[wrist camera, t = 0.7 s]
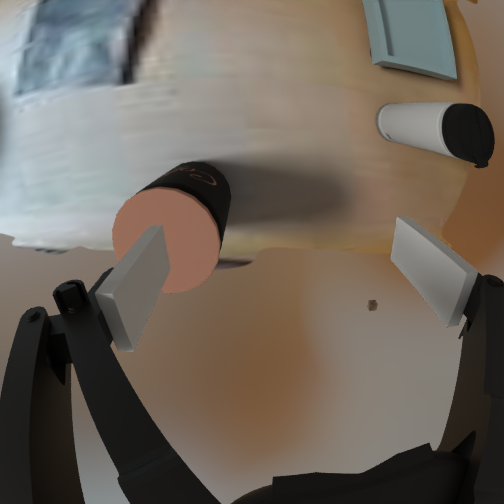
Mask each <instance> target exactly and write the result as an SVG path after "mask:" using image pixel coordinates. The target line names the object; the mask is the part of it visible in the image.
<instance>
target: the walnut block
mask: <svg viewBox="0 0 504 504" xmlns="http://www.w3.org/2000/svg"><path fill="white" fill-rule="evenodd" d="M377 306H378V304H377V302H376V300H369V301H368V306H367V307H368V309H369V311H375V310H377Z"/></svg>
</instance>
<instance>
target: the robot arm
mask: <svg viewBox="0 0 504 504" xmlns="http://www.w3.org/2000/svg"><path fill="white" fill-rule="evenodd" d="M390 260H391V261H392V262H393V263H394V264H395V265H396V266H397V267H398V268H399V269H400V271H401V272H402V273H403V274H404V275H405V276H406V278H407V279H408V280H409V281H410V282H411V283H412V285H413V286H414V287H415V288H416V289H417V291H418V292H419V293H420V294H421V296H422V297H423V298H424V299H425V300H426V302H427V303H428V304H429V305H430V306H431V308H432V309H433V310H434V312H435V313H436V314H437V316H438V317H439V318H440V319H441V321H442V322H443V323H444V325H445V326H446V327H447V328H448V327H452V326H456V325H459V322H460V320H461V318H462V315H463V314H464V315H465V316H466V317H467V320H466V322H465V325H464V327H463V329H462V331H461V333H460V335H459V339H460V338H461V336H463V342H462V350H461V358H460V364H459V371H458V377H457V382H456V387H455V392H454V396H453V401H452V405H451V409H450V413H449V417H448V420H447V424H446V428H445V431H444V434H443V438H442V441H441V443H440V445H439V447H438V449H437V450H436V451H432V448H431V446H430V443H427V444H424V445H421V446H419V447H416V448H413V449H411V450H407V451H405V452H402V453H398V454H396V455H394V456H393V457H391V458H389V459H388V460H386V461H384V462H382V463H380V464H379V465H377V466H375V467H373V468H371V469H370V470H367V471H365V472H363V473H359V474H341V473H319V472H315V473H308V474H299V475H289V476H278V477H273V482H272V485H269V486H265V487H262V488H259V489H257V490H254V491H251V492H249V493H247V494H245V495H243V496H242V497H240V498H238V499H237V500H235V501H234V502H233V503H231V504H504V282H503V281H502V280H501V279H499V278H498V277H496V276H493V275H484V276H482V275H481V274H480V273H479V272H478V271H477V270H476V269H475V268H473V267H472V266H471V265H470V264H469V263H468V262H466V261H465V260H464V259H463V258H462V257H460V256H459V255H458V254H457V253H456V252H454V251H453V250H452V249H451V248H449V247H448V246H447V245H445V244H444V243H443V242H442V241H440V240H439V239H438V238H436V237H435V236H434V235H432V234H431V233H430V232H428V231H427V230H426V229H424V228H423V227H422V226H420V225H419V224H418V223H416V222H415V221H413V220H412V219H411V218H409V217H408V216H397V221H396V228H395V235H394V241H393V247H392V253H391V258H390ZM170 270H171V268H170V263H169V258H168V252H167V247H166V241H165V235H164V229H163V225H152V226H149V227H148V228H147V229H146V231H145V232H144V233H143V234H142V235H141V236H140V237H139V239H138V240H137V241H136V242H135V243H134V245H133V246H132V247H131V248H130V249H129V251H128V252H127V253H126V254H125V255H124V257H123V258H122V259H121V260H120V261H119V263H118V264H117V265H116V266H115V268H110V269H109V270H108V271H106V272H104V273H103V274H102V276H101V277H100V278H99V280H98V281H97V282H96V283H95V286H93V287H92V288H91V289H90V291H89V292H88V293H87V291H86V289H85V286H84V283H83V282H82V281H81V280H70V281H67V282H65V283H62V284H61V285H59V286H58V287H57V288H56V289H55V290H54V291H53V297H54V299H55V302H56V304H57V306H58V309H59V311H60V313H61V314H59V315H54V316H48V314H47V312H46V309H45V308H44V307H34V308H30V309H29V310H27V311H26V312H25V313H24V314H23V315H22V317H21V319H20V322H19V325H18V328H17V331H16V334H15V337H14V341H13V344H12V348H11V351H10V356H9V359H8V363H7V367H6V372H5V376H4V381H3V386H2V391H1V397H0V504H85V501H84V497H83V492H82V488H81V483H80V479H79V478H80V477H79V472H78V466H77V459H76V452H75V444H74V436H73V435H74V434H73V423H72V406H71V363H73V365H74V368H75V371H76V374H77V378H78V381H79V384H80V387H81V390H82V392H83V395H84V398H85V400H86V403H87V406H88V408H89V411H90V413H91V416H92V418H93V421H94V422H95V425H96V428H97V430H98V432H99V434H100V436H101V439H102V441H103V443H104V445H105V447H106V449H107V451H108V453H109V455H110V457H111V459H112V461H113V463H114V465H115V466H116V468H117V471H118V472H119V477H118V478H117V479H118V483H119V485H120V487H121V489H122V491H123V493H124V494H125V496H126V498H127V499H128V501H129V502H130V504H221V503H220V502H219V501H218V500H217V499H216V498H215V497H214V496H213V495H212V494H211V493H210V491H209V490H208V489H207V488H206V487H205V486H204V485H203V484H202V483H201V481H200V480H199V479H198V478H197V477H196V476H195V474H194V473H193V472H192V471H191V470H190V469H189V467H188V466H187V465H186V464H185V463H184V461H183V460H182V459H181V457H180V456H179V455H178V454H177V452H175V450H174V449H173V448H172V446H171V445H170V444H169V442H168V441H167V440H166V438H165V437H164V436H163V434H162V433H161V431H160V430H159V428H158V427H157V426H156V424H155V423H154V421H153V420H152V418H151V417H150V415H149V414H148V412H147V410H146V409H145V407H144V406H143V404H142V402H141V401H140V399H139V398H138V396H137V394H136V393H135V391H134V389H133V388H132V386H131V384H130V382H129V381H128V379H127V377H126V376H125V373H124V372H123V370H122V368H121V366H120V364H119V362H118V360H117V359H116V357H115V355H114V353H113V351H112V349H111V347H110V345H111V343H112V341H114V343H115V345H116V347H117V349H118V350H120V351H132V352H134V351H135V349H136V346H137V344H138V342H139V339H140V337H141V335H142V332H143V330H144V327H145V325H146V323H147V321H148V318H149V316H150V313H151V311H152V309H153V307H154V305H155V303H156V300H157V298H158V296H159V294H160V292H161V289H162V287H163V285H164V283H165V281H166V279H167V277H168V274H169V272H170Z"/></svg>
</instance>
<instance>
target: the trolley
mask: <svg viewBox="0 0 504 504" xmlns="http://www.w3.org/2000/svg"><path fill="white" fill-rule="evenodd" d="M362 1H363V6H364V11H365V16H366V21H367V27H368V33H369V40H370V47H371V48H370V55H371V57H372V64H374V65H380V66H386V67H392V68H397V69H402V70H407V71H412V72H416V73H421V74H425V75H429V76H433V77H436V78H440V79H443V80H451V79H457V74H456V65H455V58H454V52H453V46H452V40H451V35H450V30H449V26H448V21H447V17H446V13H445V9H444V5H443V2H442V0H362Z"/></svg>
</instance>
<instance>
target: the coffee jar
mask: <svg viewBox="0 0 504 504" xmlns="http://www.w3.org/2000/svg"><path fill="white" fill-rule="evenodd" d="M230 200H231V194H230V189H229V185H228V183H227V181H226V179H225V178H224V176H223V175H222V174H221V173H220V172H219V171H218V170H217V169H216V168H215V167H213V166H210V165H208V164H206V163H203V162H194V161H192V162H187V163H183V164H180V165H179V166H177V167H175V168H173V169H172V170H170V171H169V172H167V173H166V174H164V175H163V176H161V177H160V178H158V179H157V180H155V181H154V182H152V183H151V184H149V185H148V186H146V187H145V188H143V189H142V190H141V191H139V192H138V193H136V195H134V196H133V197H131V198H130V199H128V200H127V201H126V202H125V203H124V205H123V206H122V207H121V209H120V210H119V212H118V213H117V215H116V218H115V222H114V225H113V229H112V235H113V247H114V250H115V253H116V255H117V258H118V261H120V260H121V259H122V258H123V257H124V255H125V254H126V253H127V252H128V251H129V249H130V248H131V247H132V246H133V245H134V243H135V242H136V241H137V240H138V239H139V237H140V236H141V235H142V234H143V233H144V232H145V231H146V229H147V228H148V227H149V226H152V225H163V229H164V235H165V241H166V247H167V252H168V258H169V263H170V268H171V270H170V272H169V274H168V277H167V279H166V281H165V283H164V285H163V287H162V289H161V292H166V293H178V292H185V291H188V290H191V289H193V288H195V287H197V286H199V285H201V284H202V283H203V282H204V281H205V280H206V279H207V278H208V277H209V276H210V275H211V274H212V272H213V270H214V269H215V267H216V265H217V263H218V261H219V253H220V250H221V246H222V241H223V236H224V231H225V226H226V222H227V217H228V212H229V207H230Z"/></svg>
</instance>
